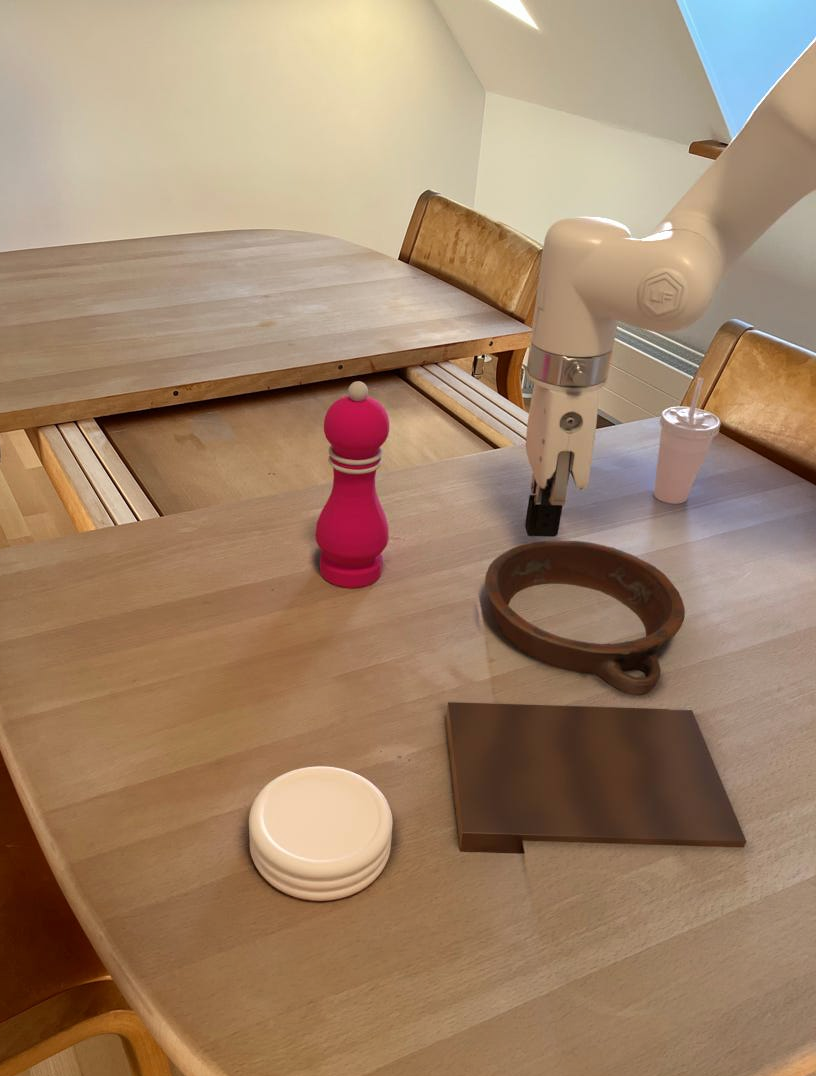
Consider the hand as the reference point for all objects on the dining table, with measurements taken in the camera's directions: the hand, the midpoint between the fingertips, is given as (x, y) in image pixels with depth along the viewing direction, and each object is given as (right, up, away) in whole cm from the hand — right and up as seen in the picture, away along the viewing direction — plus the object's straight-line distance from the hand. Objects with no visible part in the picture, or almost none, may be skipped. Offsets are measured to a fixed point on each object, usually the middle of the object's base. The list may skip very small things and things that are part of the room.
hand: (540, 532), depth 101 cm
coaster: (-23, -26, -32) cm, 47 cm away
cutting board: (-2, -22, -27) cm, 35 cm away
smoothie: (+17, +5, +11) cm, 21 cm away
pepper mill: (-20, -4, -3) cm, 21 cm away
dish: (+1, -11, -11) cm, 15 cm away
